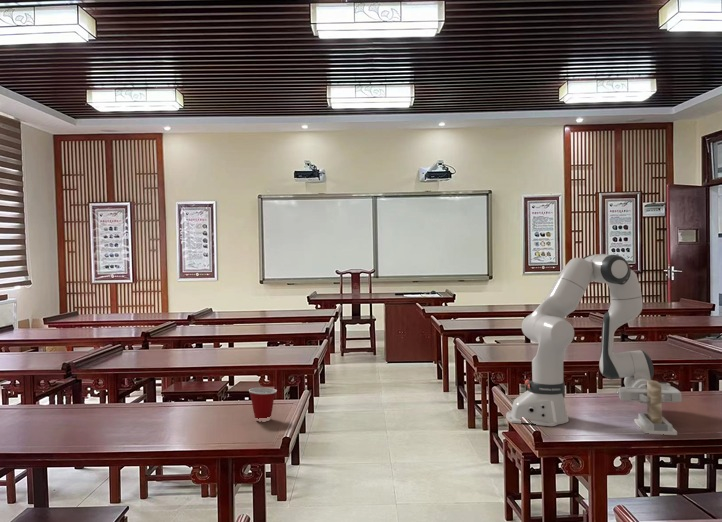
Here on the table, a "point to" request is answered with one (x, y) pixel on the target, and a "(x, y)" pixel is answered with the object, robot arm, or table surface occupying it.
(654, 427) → the floor track
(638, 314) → the robot arm
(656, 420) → the tan wooden block
